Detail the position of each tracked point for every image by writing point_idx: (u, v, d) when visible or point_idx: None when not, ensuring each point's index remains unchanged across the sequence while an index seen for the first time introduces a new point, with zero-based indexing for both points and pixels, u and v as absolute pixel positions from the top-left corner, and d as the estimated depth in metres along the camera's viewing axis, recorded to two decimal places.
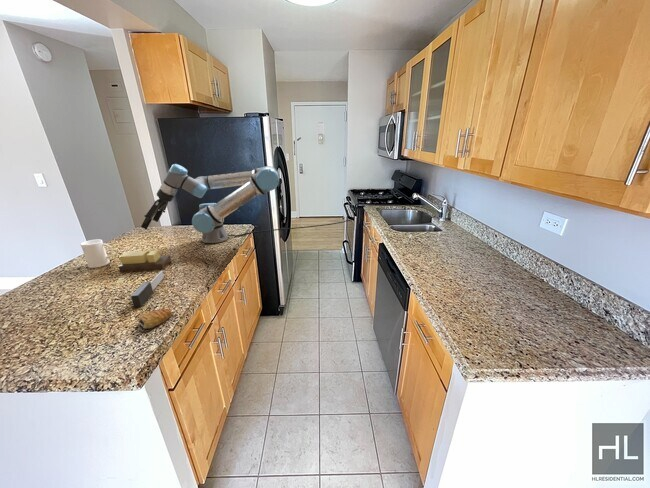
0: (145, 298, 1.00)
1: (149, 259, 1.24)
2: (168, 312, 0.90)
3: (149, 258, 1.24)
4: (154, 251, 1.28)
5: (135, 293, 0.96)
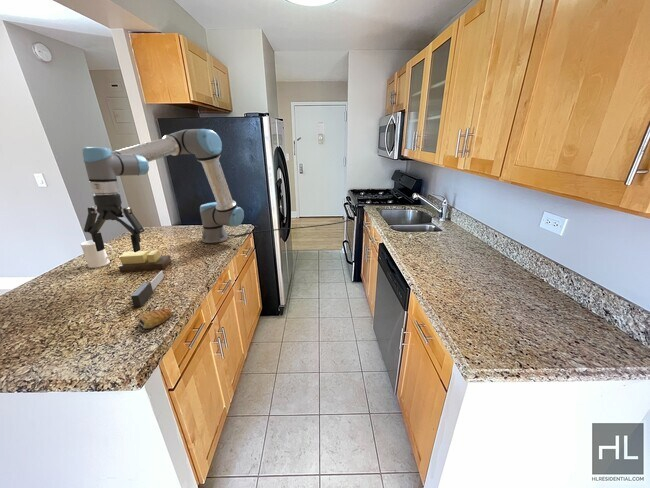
0: (145, 298, 1.00)
1: (149, 259, 1.24)
2: (168, 312, 0.90)
3: (149, 258, 1.24)
4: (154, 251, 1.28)
5: (135, 293, 0.96)
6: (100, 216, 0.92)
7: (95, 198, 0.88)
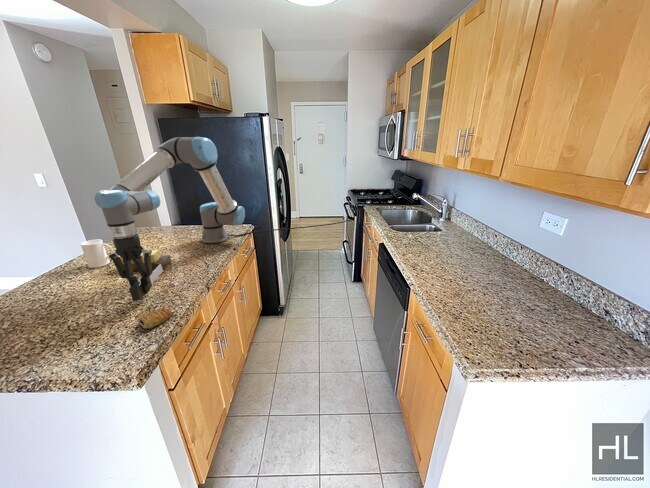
0: None
1: None
2: (168, 312, 0.90)
3: None
4: (154, 251, 1.28)
5: (134, 286, 0.95)
6: (124, 258, 0.93)
7: (116, 242, 0.88)
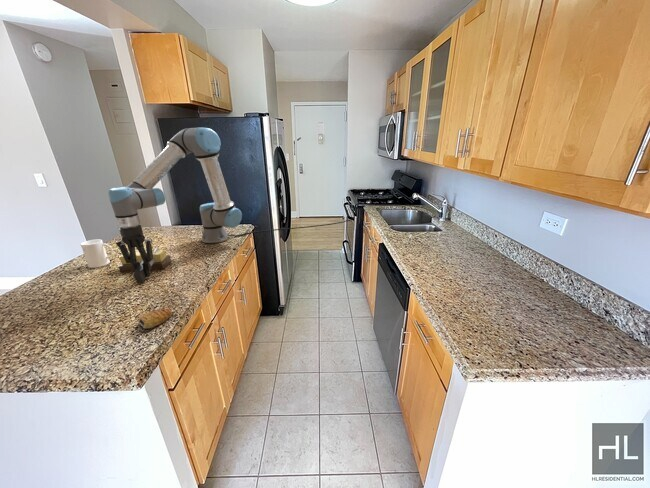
0: None
1: (155, 259, 1.25)
2: (168, 312, 0.90)
3: (155, 258, 1.25)
4: (160, 251, 1.28)
5: (136, 271, 1.11)
6: (129, 246, 1.08)
7: (122, 231, 1.04)
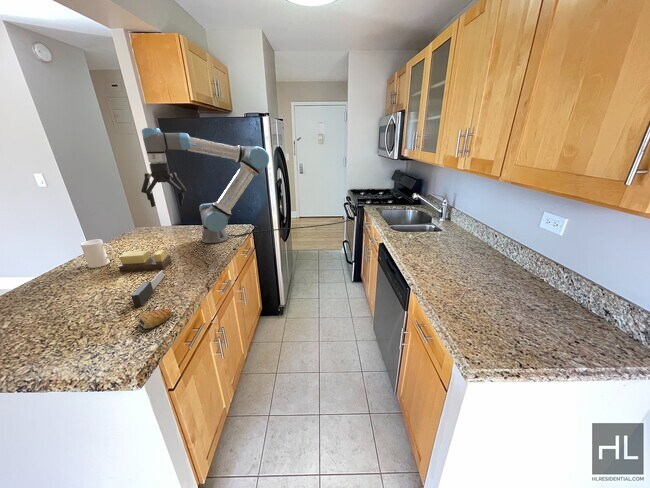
0: (146, 298, 1.00)
1: (156, 259, 1.25)
2: (168, 312, 0.90)
3: (156, 258, 1.25)
4: (160, 251, 1.28)
5: (136, 293, 0.96)
6: (154, 179, 1.26)
7: (152, 166, 1.22)
